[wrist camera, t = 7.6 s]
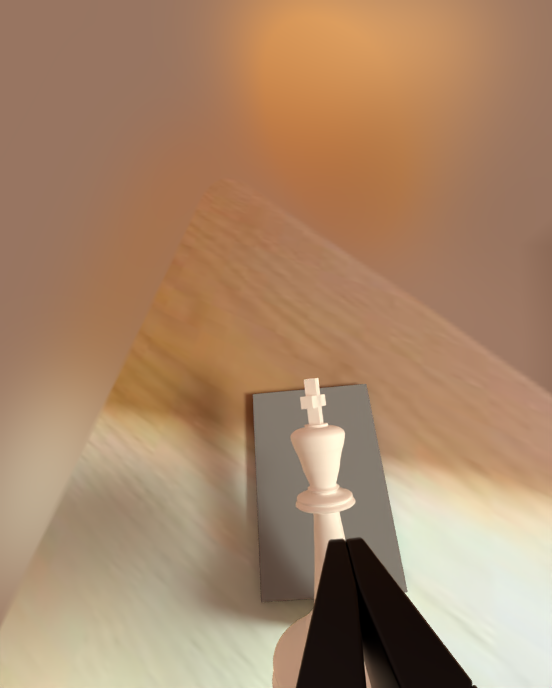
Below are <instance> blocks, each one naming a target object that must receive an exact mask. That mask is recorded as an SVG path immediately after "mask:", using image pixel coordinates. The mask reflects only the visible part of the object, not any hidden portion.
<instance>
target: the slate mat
mask: <svg viewBox="0 0 552 688" xmlns="http://www.w3.org/2000/svg"><path fill="white" fill-rule="evenodd" d="M319 389H320V395H321V394H325V400H326V405H325V406H322V414H323V423H328V425H333V426H338V427H340V428H342V429H343V430H344V432H345V439H344V445H343V448H342V453H341V458H340V468H339V472H338V477H337V481H336V484H338V485H339V486H340V488H344V489H347V490H349V491H351V492H352V494H353V497H354V499H355V504H354V505H353V506H352V507H350V508H349V509H346V510H344V511H340V517H341V522H342V526H343V531H344V536H345V541H346V539H347V538H355V537H361V538H363V539H364V541H365V542H366V543H367V544H368V546H369V547H370V548H371V550H372V551H373V552H374V554H375V555H376V556H377V557H378V559H379V560H380V561H381V563H382V564H383V565H384V567H385V568H386V569H387V571H388V572H389V573H390V574H391V576H392V577H393V578H394V580H395V581H396V582H397V584H398V585H399V586H400V588H401V589H402V590H403V591H404V592H407V587H406V582H405V577H404V572H403V567H402V562H401V557H400V551H399V546H398V541H397V536H396V531H395V526H394V521H393V516H392V511H391V506H390V501H389V496H388V491H387V486H386V481H385V476H384V471H383V466H382V461H381V456H380V451H379V446H378V441H377V436H376V431H375V425H374V420H373V415H372V410H371V405H370V400H369V395H368V390H367V385H366V384H360V385H349V386H338V387H327V388H319ZM304 396H306V394H305V390H294V391H283V392H272V393H261V394H253V411H254V435H255V459H256V483H257V507H258V531H259V556H260V580H261V602H271V601H286V600H300V599H314V573H315V545H314V516H313V513H307V512H303V511H301V510H299V509H298V508H297V507H296V502H297V496H298V495H299V494H300V493H302V492H304V491H306V490H308V489H307V488H308V487H309V486H310V484H309V482H308V480H307V477H306V475H305V473H304V471H303V468H302V465H301V462H300V460H299V457H298V455H297V453H296V451H295V449H294V447H293V445H292V442H291V438H290V436H291V434H292V433H293V432H294V431H295V430H297V429H300V428H304V427H305V426H304V425H306V424H309V421H308V412H307V409H301V402H300V397H304Z"/></svg>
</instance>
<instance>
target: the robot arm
mask: <svg viewBox="0 0 552 688" xmlns="http://www.w3.org/2000/svg"><path fill="white" fill-rule="evenodd" d="M364 662H365V665H364ZM365 666H366V670H367V673H368V677H369V681H370V684H371V688H477V686H475V685H473V686H472V680H471V679H470V678H469V676H468V675H467V674H466V672H465V671H464V670H463V668H462V667H461V666H460V665H459V663H458V662H457V661H456V659H455V658H454V657H453V655H452V654H451V653H450V651H449V650H448V649H447V648H446V646H445V645H444V644H443V642H442V641H441V640H440V638H439V637H438V636H437V635H436V633H435V632H434V631H433V629H432V628H431V627H430V625H429V624H428V623H427V621H426V620H425V619H424V618H423V616H422V615H421V614H420V612H419V611H418V610H417V608H416V607H415V606H414V604H413V603H412V602H411V601H410V599H409V598H408V597H407V595H406V594H405V593H404V591H403V590H402V589H401V588H400V586H399V585H398V584H397V582H396V581H395V580H394V578H393V577H392V576H391V574H390V573H389V572H388V571H387V569H386V568H385V567H384V565H383V564H382V563H381V561H380V560H379V559H378V557H377V556H376V555H375V554H374V552H373V551H372V550H371V548H370V547H369V546H368V544H367V543H366V542H365V541H364V539H363V538H361V537H355V538H347V539H346V541H345V540H344V539H342V538H341V539H330V540H329V541H328V544H327V549H326V553H325V558H324V562H323V567H322V571H321V576H320V580H319V585H318V589H317V594H316V598H315V603H314V607H313V612H312V616H311V621H310V625H309V630H308V634H307V639H306V643H305V648H304V652H303V657H302V661H301V666H300V670H299V675H298V679H297V684H296V688H367V687H366V676H365Z"/></svg>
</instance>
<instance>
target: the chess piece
mask: <svg viewBox="0 0 552 688" xmlns="http://www.w3.org/2000/svg"><path fill="white" fill-rule="evenodd" d="M304 386H305V394H306V396H304V397H300V402H301V409H307V412H308V421H309V424H306V425H304V426H305V427H304V428H300V429H297V430H295V431H294V432H293V433H292V434H291V436H290V438H291V442H292V445H293V447H294V449H295V451H296V453H297V455H298V457H299V460H300V462H301V465H302V468H303V471H304V473H305V475H306V477H307V480H308V482H309V484H310V486H309V487H308V488H307V489H308V490H306V491H304V492H302V493H300V494H299V495H298V496H297V502H296V507H297V508H298V509H299V510H301V511H303V512H307V513H313V516H314V545H315V573H314V603H315V598H316V594H317V589H318V585H319V580H320V576H321V571H322V567H323V562H324V558H325V553H326V549H327V544H328V541H329V540H330V539H341V538H342V539H344V540H345V536H344V531H343V526H342V522H341V517H340V511H344V510H346V509H349V508H350V507H352V506H353V505H354V504H355V499H354V497H353V494H352V492H351V491H349V490H347V489H344V488H340V486H339V485H338V484H336V481H337V477H338V472H339V468H340V458H341V453H342V448H343V445H344V439H345V432H344V430H343V429H342V428H340V427H338V426H333V425H328V423H323V414H322V406H325V405H326V400H325V394H321V395H320V389H319V381H318V378H313V379H304ZM312 612H313V610H312V611H311V612H310V613H309V614H308V615H306V616H304V617H302V618H301V619H299V620H297V621H296V622H295V623H293V624H292V625H291V626H290V627H289V628H288V629H287V630H286V631H285V632H284V633H283V635H282V636H281V638H280V639H279V641H278V643H277V645H276V648H275V652H274V657H273V669H274V671H273V678H272V684H273V688H296V684H297V679H298V675H299V670H300V666H301V661H302V657H303V652H304V648H305V643H306V639H307V634H308V630H309V625H310V621H311V616H312ZM364 665H365V662H364ZM365 676H366V687H367V688H371V684H370V681H369V677H368V673H367V670H366V666H365Z"/></svg>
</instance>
